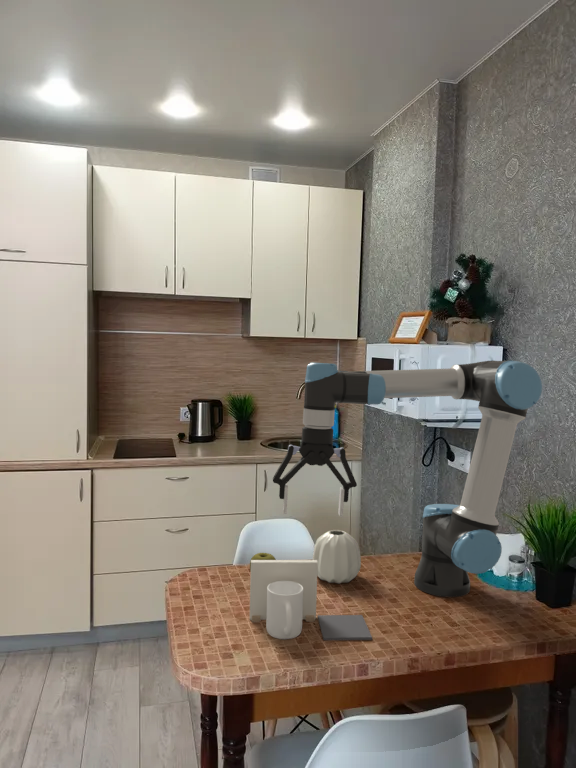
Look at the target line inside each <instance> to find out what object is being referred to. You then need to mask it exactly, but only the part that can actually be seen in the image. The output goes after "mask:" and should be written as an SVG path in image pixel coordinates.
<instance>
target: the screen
mask: <svg viewBox="0 0 576 768" xmlns="http://www.w3.org/2000/svg"><path fill="white" fill-rule="evenodd" d="M250 561H251V571H250V589H249V591H250V592H249V621H251V623H260V622H261V620H263V621H266V617H267V587H268V585H269V584H271V583H273V582H276V581H292V582H296V583H299V584H300V585H302V587H303V613H302V620H305V622H308V623H309V622H311V623H313V622H315V620H316V619H317V597H318V595H317V591H318V576H317V566H318V562H317V560H313V559H276V560H251V559H250Z"/></svg>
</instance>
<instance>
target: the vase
mask: <svg viewBox="0 0 576 768" xmlns="http://www.w3.org/2000/svg"><path fill="white" fill-rule="evenodd" d="M314 544H315V545H314V548H313V552H312V553H313V554H312V560H317V562H318V566H317V578H319V579H320V580H321V581H326V582H327V583H329V584H330V583H332V584H333V583H335V584H341V583H349V582H351V581H352V580H354V579H355V578H356V577H357V575H358V573H359V572H360V571H361V567H362V566H361V565H362V563H361V562H362V559H361V551H360V547H359V546H360V545H359V544H358V542H357V540H356V539H355V538H354V537H353V536H352V535H351V534H349V533H348V532H346V531H344V530H340V529H332V530H328V531H326V532H325V533H322V535H320V536H318V537H317V539H316V541H315V543H314Z"/></svg>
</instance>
